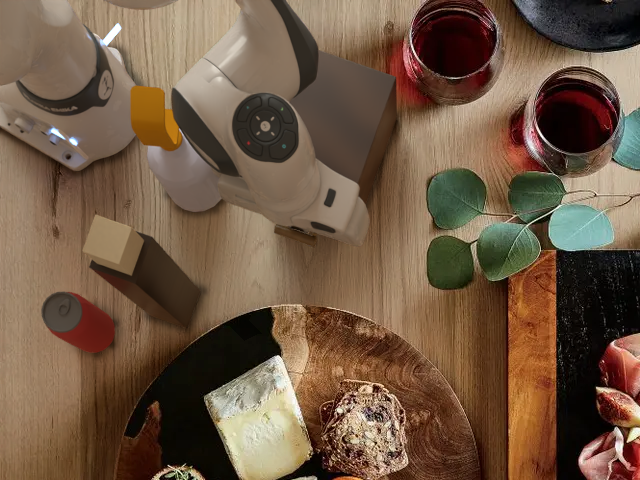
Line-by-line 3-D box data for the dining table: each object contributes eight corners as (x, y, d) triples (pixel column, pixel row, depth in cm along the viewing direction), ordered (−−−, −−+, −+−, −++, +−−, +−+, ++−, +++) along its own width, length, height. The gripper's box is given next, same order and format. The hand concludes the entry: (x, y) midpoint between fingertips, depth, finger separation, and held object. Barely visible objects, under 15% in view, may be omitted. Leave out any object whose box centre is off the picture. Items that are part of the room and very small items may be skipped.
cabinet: (361, 217, 122) (357, 186, 110) (275, 187, 122) (262, 152, 110) (396, 118, 122) (396, 76, 110) (310, 88, 122) (301, 43, 110)
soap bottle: (230, 155, 122) (187, 64, 98) (224, 215, 122) (179, 141, 98) (170, 149, 122) (112, 58, 98) (164, 210, 122) (104, 134, 98)
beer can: (123, 320, 122) (93, 299, 110) (105, 361, 122) (73, 344, 110) (84, 302, 122) (49, 279, 110) (65, 342, 123) (29, 323, 111)
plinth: (149, 315, 122) (88, 267, 98) (163, 277, 122) (105, 220, 98) (187, 329, 122) (135, 283, 98) (201, 291, 122) (152, 236, 98)
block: (96, 263, 98) (82, 251, 94) (109, 228, 98) (95, 214, 94) (131, 275, 98) (118, 264, 94) (144, 240, 98) (132, 227, 94)
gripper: (199, 183, 102) (223, 223, 116) (354, 236, 102) (360, 269, 115) (216, 135, 102) (238, 180, 116) (371, 188, 102) (375, 227, 115)
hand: (300, 225), depth 116 cm, fingers closed
